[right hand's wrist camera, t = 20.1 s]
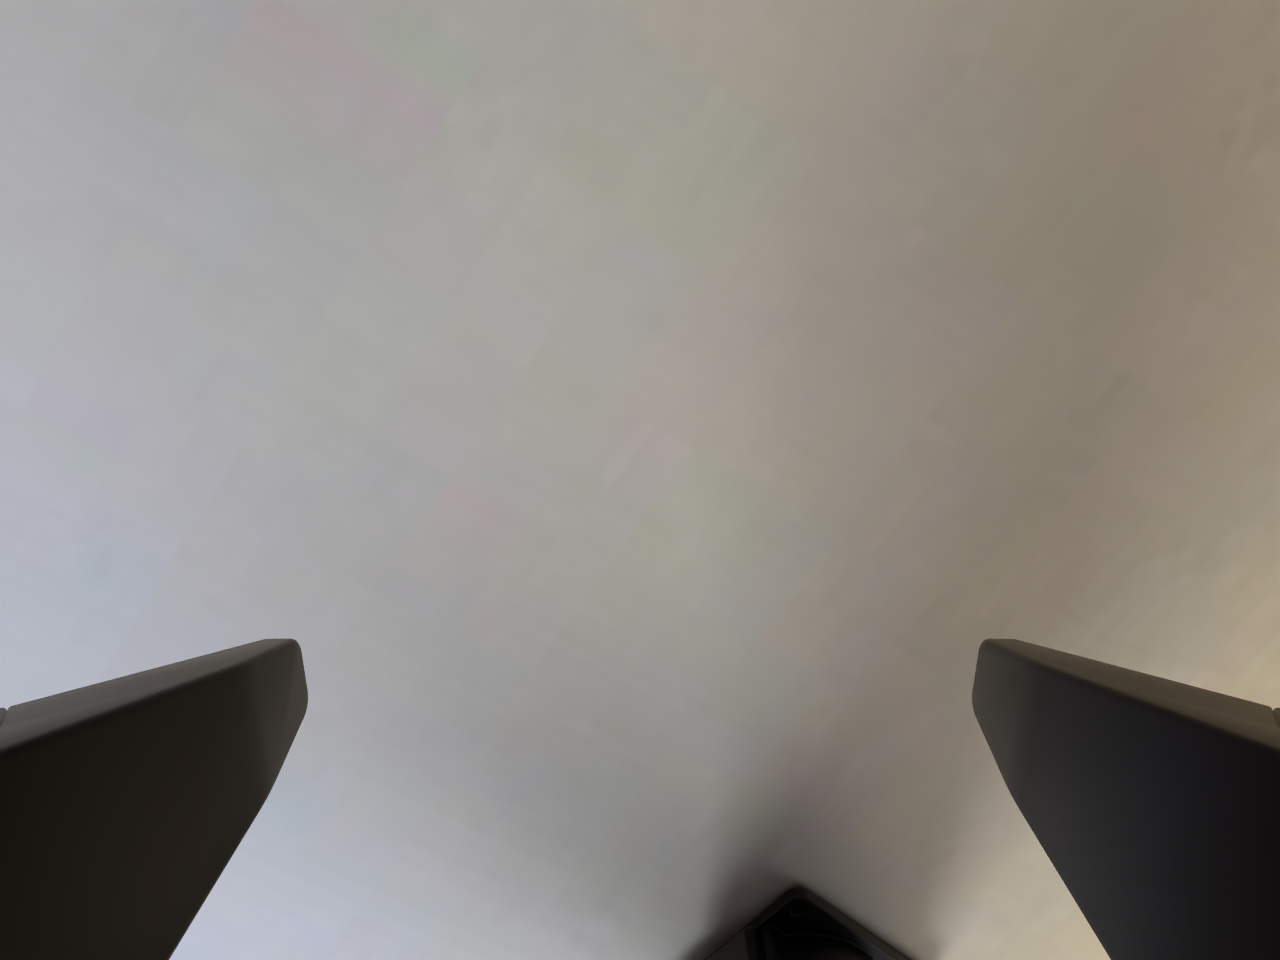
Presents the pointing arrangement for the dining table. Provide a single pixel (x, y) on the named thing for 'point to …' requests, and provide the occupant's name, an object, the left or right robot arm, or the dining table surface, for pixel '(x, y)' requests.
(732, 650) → the dining table surface
